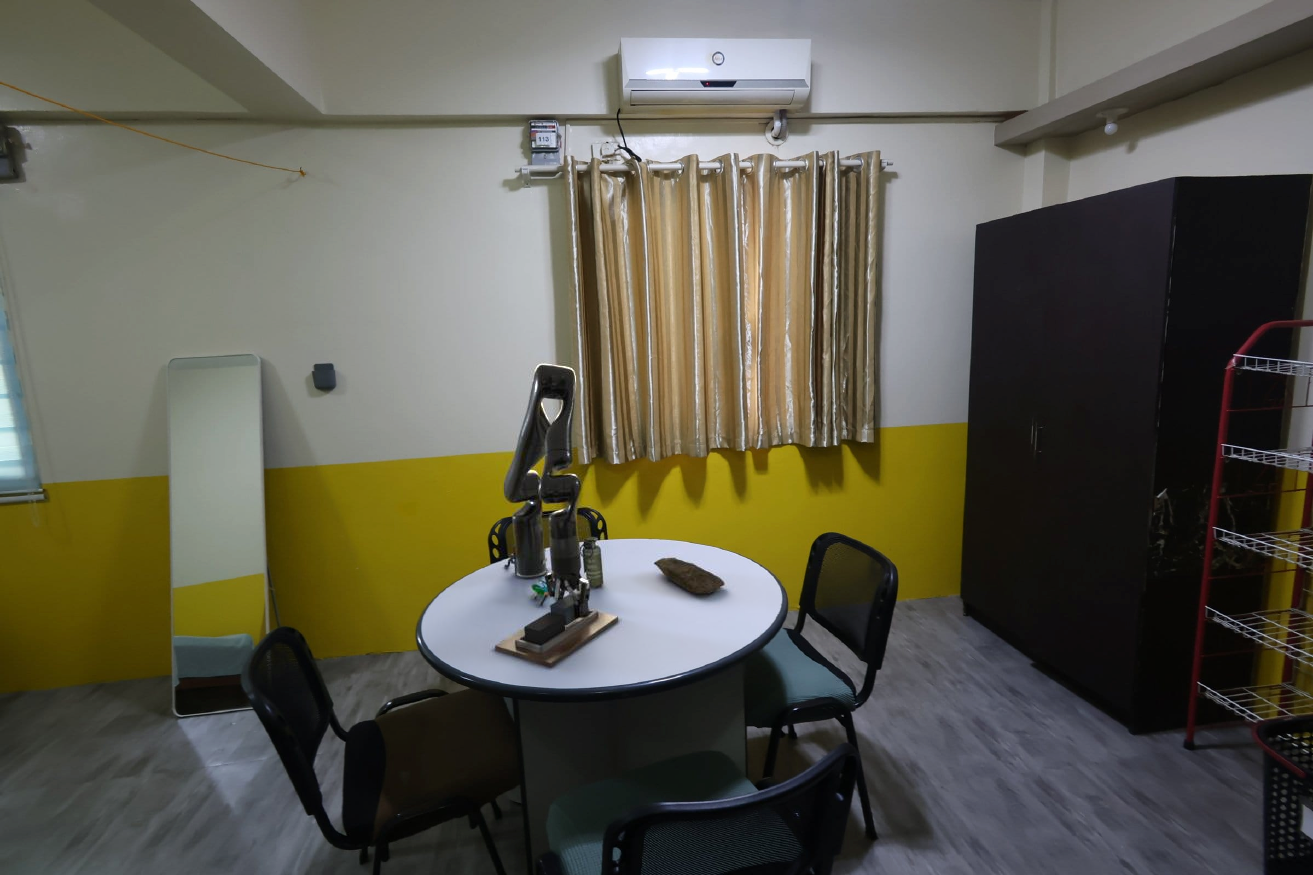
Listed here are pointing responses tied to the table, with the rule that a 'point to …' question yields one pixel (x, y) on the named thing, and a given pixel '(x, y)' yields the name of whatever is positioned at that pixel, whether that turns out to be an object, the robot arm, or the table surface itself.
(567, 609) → the pad
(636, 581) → the table surface
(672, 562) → the stone
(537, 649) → the mount board
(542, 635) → the pad
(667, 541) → the table surface
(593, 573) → the grenade
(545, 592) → the stick construction toy
